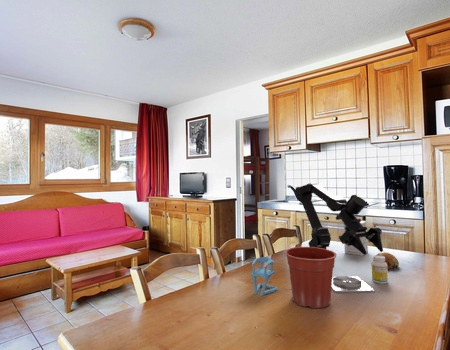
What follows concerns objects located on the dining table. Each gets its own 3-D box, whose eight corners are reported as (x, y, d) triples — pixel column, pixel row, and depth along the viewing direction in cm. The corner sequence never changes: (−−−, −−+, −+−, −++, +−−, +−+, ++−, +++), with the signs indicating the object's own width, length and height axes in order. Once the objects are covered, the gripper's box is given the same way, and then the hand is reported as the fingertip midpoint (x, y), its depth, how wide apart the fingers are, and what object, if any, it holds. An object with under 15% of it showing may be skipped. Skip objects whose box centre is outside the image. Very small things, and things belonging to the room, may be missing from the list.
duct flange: (322, 278, 114) (322, 274, 114) (357, 277, 114) (357, 274, 114) (335, 292, 100) (335, 288, 100) (374, 291, 100) (374, 287, 100)
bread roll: (394, 272, 130) (390, 254, 133) (405, 269, 121) (400, 250, 124) (372, 272, 131) (368, 254, 134) (380, 269, 122) (376, 250, 125)
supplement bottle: (386, 285, 106) (385, 259, 106) (370, 282, 109) (369, 257, 109) (389, 280, 110) (388, 256, 110) (374, 278, 113) (373, 254, 113)
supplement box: (368, 252, 151) (367, 220, 151) (363, 256, 144) (362, 223, 144) (349, 249, 157) (348, 219, 157) (344, 253, 150) (343, 221, 151)
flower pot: (339, 294, 98) (337, 248, 98) (336, 316, 83) (334, 261, 83) (291, 288, 105) (290, 245, 105) (281, 307, 90) (279, 256, 90)
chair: (248, 293, 102) (247, 259, 102) (260, 285, 108) (259, 254, 108) (267, 298, 97) (266, 263, 97) (278, 289, 104) (277, 257, 104)
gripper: (356, 230, 131) (378, 260, 120) (325, 234, 123) (345, 266, 113) (370, 215, 124) (395, 245, 113) (338, 218, 116) (361, 251, 106)
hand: (374, 252), depth 112 cm, fingers open, 9 cm apart
